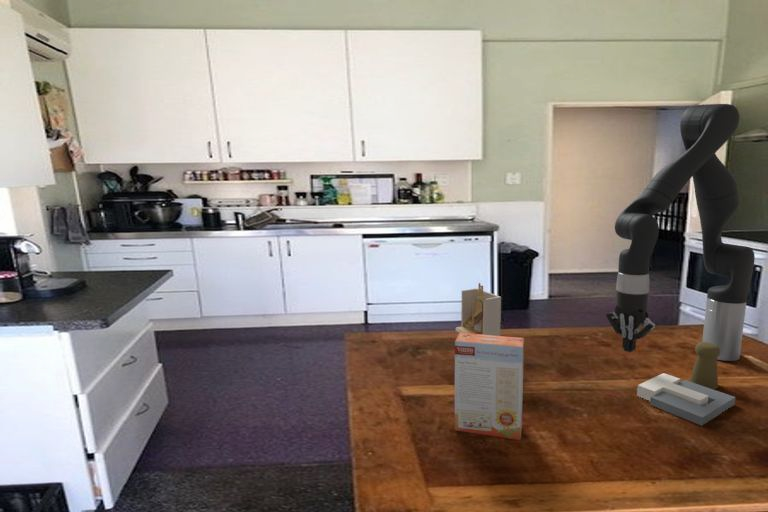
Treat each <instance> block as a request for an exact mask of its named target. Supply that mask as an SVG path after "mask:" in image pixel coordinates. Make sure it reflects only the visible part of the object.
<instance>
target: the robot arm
mask: <svg viewBox="0 0 768 512" xmlns="http://www.w3.org/2000/svg"><path fill="white" fill-rule="evenodd" d="M739 122H740V112H739V110H738V108H737V107H736V106H735V105H733V104H729V103H712V104H709V103H708V104H695V105H691V106H688V107H687V108H686V109H685V111H684V112H683V113H682V115H681V119H680V122H679V123H680V124H679V128H680V129H679V130H680V137H681V139H682V143H683V146H684V149H685V152H684V153H682V154H681V155H679V156H678V157H677V158H675V159H674V160H672V161H670V162H669V163H668V164H666V165H665V166H664V167H662V168H661V169H660V170H659V171H658V172H657V173H655V175H654V176H653V177H652V179H651V180H650V182H649V183H648V184H647V186H645V188H644V190H643V191H642V193H641V194H640V195H639V196H638V197H637V198H636V199H634V200H633V201H632V202H631V203H630V204H629V205H628V206H626V208H624V209H623V210H622V211H621V212H620V213H619V215H618V217H617V218H616V220H615V223H614V231H615V235H617V236H618V237H619V238H620V239H621V238H622V239H624V240H628V241H630V242H631V243H630V246H629V248H626V249H623V250H621V252H620V253H619V257H618V266H617V267H618V269H617V270H618V272H617V277H616V284H615V286H616V287H615V288H616V289H615V305H616V306H615V307H614V311H611V312H608V313H606V315H605V316H606V318H607V320H608V321H609V323H610V325H611V326H612V329H613V331H614V332H615V333H616V334H617V335H621V337H622V348H623V350H624V352H627V353H632V352H633V351H635V350H636V349H637V347H636V346H637V340H640V339H642V338H643V339H644V337H645V336H647V335H648V334H649V333H650V332H652V331H653V330H654V329H655V328H657V326H658V325H657V322H654V321H653V322H652V320H651V319H650V318H649V317H650V316H649V313H648V306H649V297H650V295H649V294H650V263H651V261H650V260H651V256H652V253H653V251H654V248H655V245H656V243H657V240H658V238H659V232H660V227H659V222H658V221H657V218H655V216H653V215H655V214H658V213H660V214H661V213H664V212H666V211H667V210H668V208H670V206H671V205H672V204H673V202H674V201H675V200H676V199H677V197H678V195H679V194H680V192H681V191H682V189H683V188H684V187H685V186H686V184H687V183H688V182H689V180H690V179H692V181H693V186H694V196H695V202H696V205H697V211H698V215H699V221H700V222H699V223H700V229H701V234H702V235H701V237H702V257H703V264H704V268H705V270H706V272H708V273H709V274H711V275H716V276H722V277H727V278H730V282H729V283H727V284H725V285H723V284H722V285H716V286H711V287H709V288H708V289H707V295H706V302H705V313H704V323H703V330H702V331H703V332H702V341H701V342H708V343H713V344H715V345H717V346H718V347H719V348H720V355H719V357H717V361H718V360H719V361H724V362H737V361H738V360H740V358H741V357H740V356H741V347H742V339H743V333H744V327H745V318H746V317H745V315H746V308H747V302H748V297H749V296H748V295H749V292H750V289H751V287H750V286H751V280H752V275H753V271H754V267H755V251H754V250H753V248H751V247H750V246H746V245H739V244H738V245H737V244H727V243H726V244H725V243H723V240H722V232H723V230H724V228H725V227H726V225H727V224H728V223H729V222H730V221H731V219H732V218H733V216H734V215H735V214H736V212H737V210H738V208H739V207H740V206H739V205H740V199H739V198H740V197H739V191H738V184H737V181H736V179H735V177H734V176H733V174H732V172H730V170H729V169H728V168H727V167H726V166H725V164H724V163H723V162H722V161H721V160H720V159H719V157H718V156H717V154H716V153H717V151H719V150H720V149H721V148H722V147H723V146H724V145H725V144H726V143H727V142H728V141H729V140H730V138H731V137H732V136H733V135H734V133H735V132H736V130H737V128H738V126H739ZM643 323H644V324H643ZM642 325H643V326H642ZM641 326H642V327H643V328H642V329H641V330H640V328H641Z"/></svg>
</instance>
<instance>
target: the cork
mask: <svg viewBox="0 0 768 512" xmlns="http://www.w3.org/2000/svg"><path fill="white" fill-rule="evenodd" d="M694 351H695V353H696V358H695V361H694V365H693V367H692V368H693V369H692V372H691V376H690V380H689V381H690V382H693V383H695V384H698V385H701V386H704V387H707V388H710V389H713V390H717V389H718V388H719V383H718V382H719V378H718V375H719V374H718V363H717V362H718V359H717V357H719V355H720V348H719V347H718V346H717V345H715V344H713V343H708V342H702V341H700V342H698V343H697V344H696V345H695V347H694ZM716 388H717V389H716Z"/></svg>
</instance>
